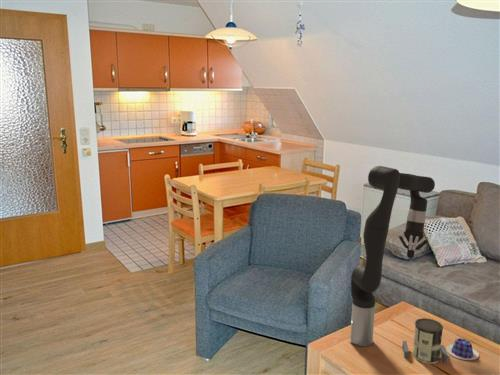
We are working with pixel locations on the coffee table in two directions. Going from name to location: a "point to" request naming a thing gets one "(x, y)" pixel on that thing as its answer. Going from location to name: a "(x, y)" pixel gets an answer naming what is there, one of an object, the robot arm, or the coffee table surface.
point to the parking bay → (442, 352)
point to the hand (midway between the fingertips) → (409, 258)
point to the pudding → (462, 350)
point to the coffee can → (427, 340)
